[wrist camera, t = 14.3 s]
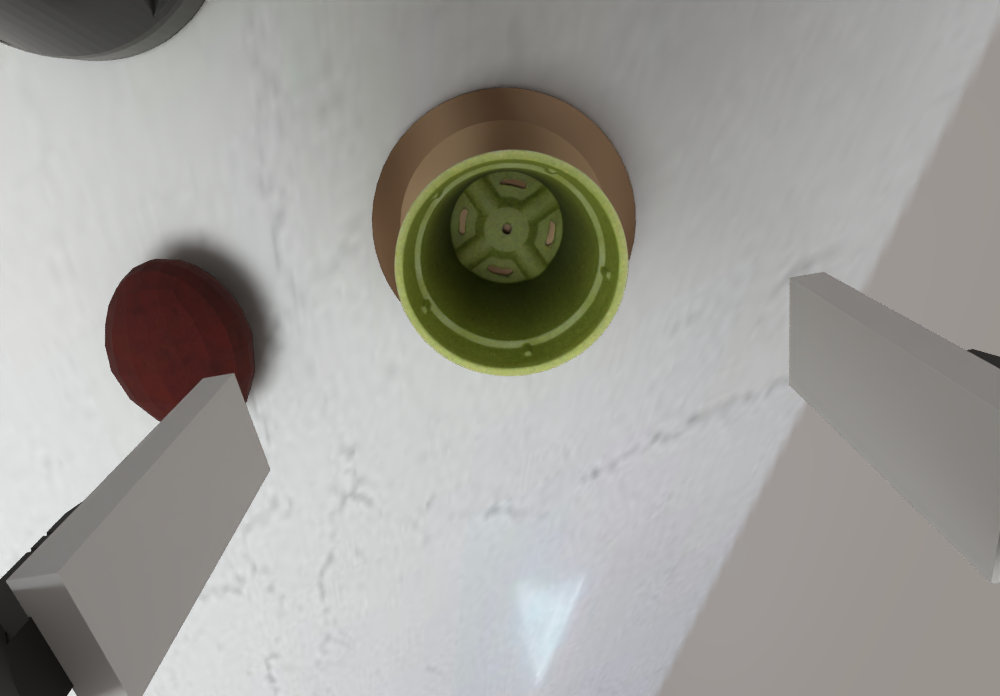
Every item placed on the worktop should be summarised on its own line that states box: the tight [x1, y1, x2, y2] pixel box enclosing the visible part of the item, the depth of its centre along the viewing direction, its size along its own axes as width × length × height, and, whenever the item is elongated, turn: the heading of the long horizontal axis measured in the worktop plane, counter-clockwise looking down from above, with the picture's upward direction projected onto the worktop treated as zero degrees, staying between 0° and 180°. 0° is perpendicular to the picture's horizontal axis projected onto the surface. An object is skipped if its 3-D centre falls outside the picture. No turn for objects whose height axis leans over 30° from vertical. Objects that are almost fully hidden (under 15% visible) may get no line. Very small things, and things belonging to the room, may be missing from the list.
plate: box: [372, 88, 636, 302], centre depth 34 cm, size 14×14×1 cm
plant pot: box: [394, 149, 628, 376], centre depth 29 cm, size 9×9×9 cm
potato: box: [105, 259, 255, 422], centre depth 34 cm, size 7×10×6 cm
